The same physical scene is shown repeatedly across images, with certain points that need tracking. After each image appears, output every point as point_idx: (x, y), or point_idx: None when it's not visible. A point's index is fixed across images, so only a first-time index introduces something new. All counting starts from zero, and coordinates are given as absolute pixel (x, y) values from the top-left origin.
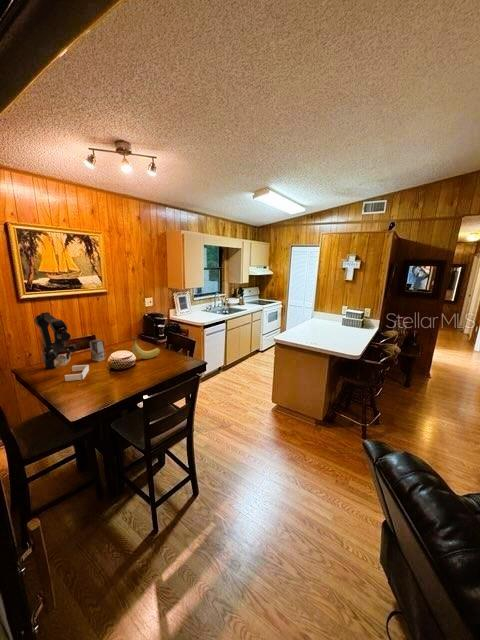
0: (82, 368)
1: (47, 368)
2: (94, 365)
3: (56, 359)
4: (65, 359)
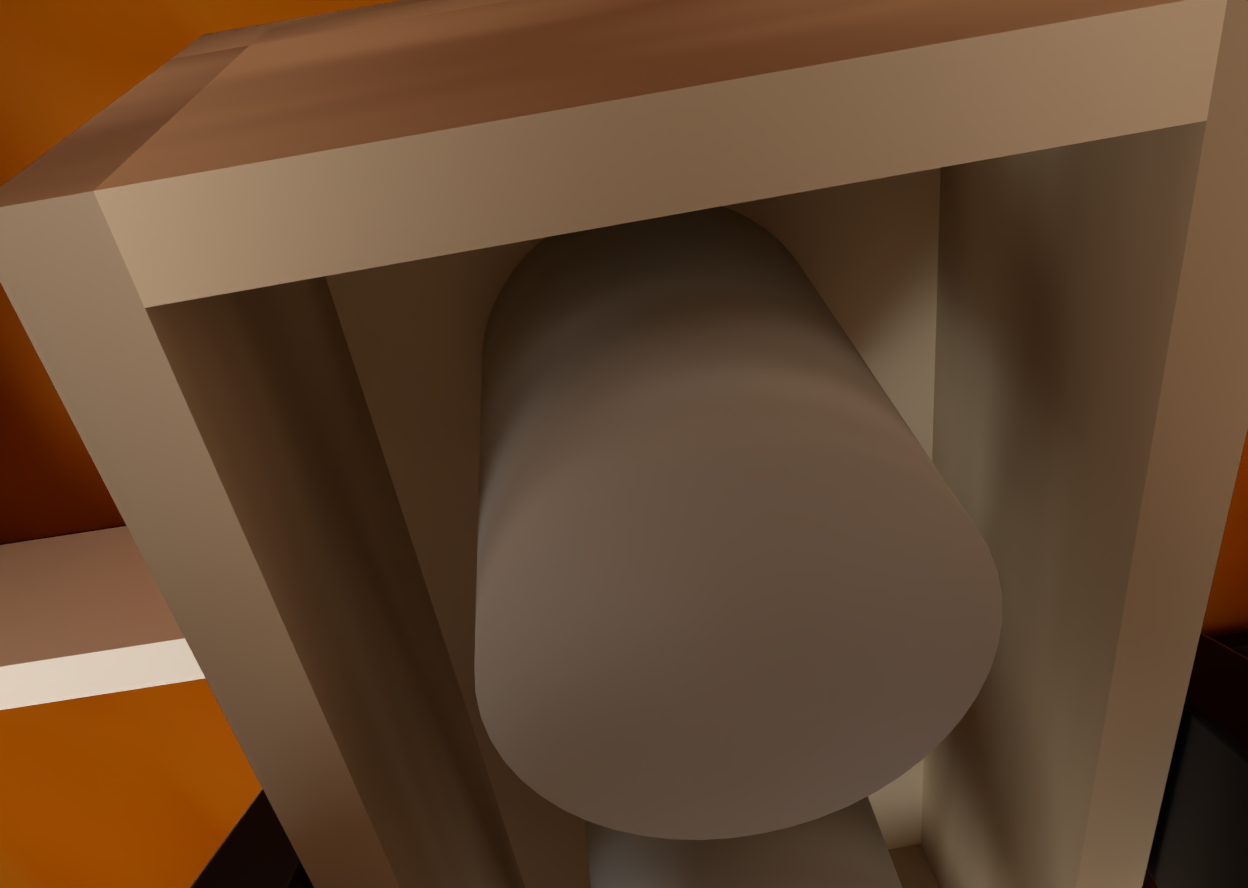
0: (116, 577)
1: (1238, 651)
2: (37, 830)
3: (1091, 504)
4: (95, 395)
